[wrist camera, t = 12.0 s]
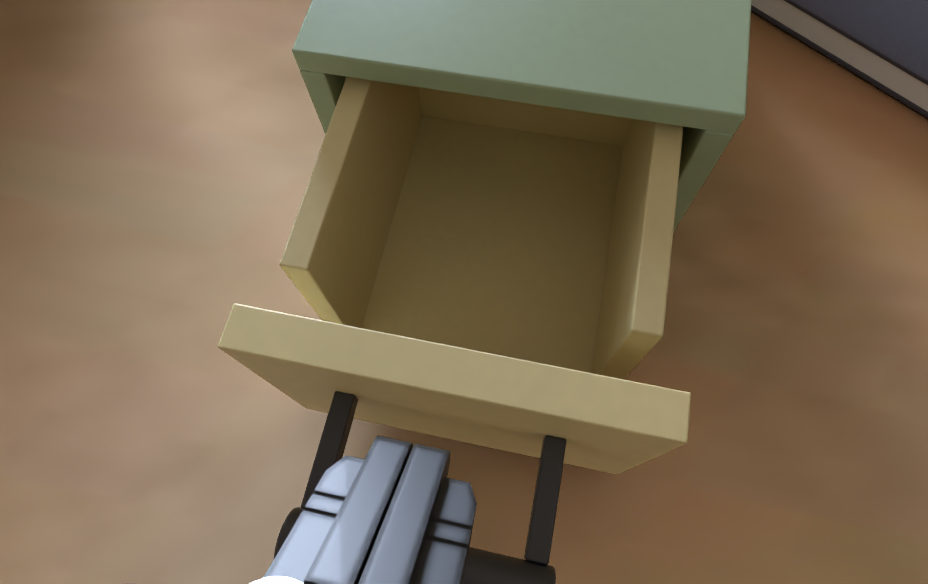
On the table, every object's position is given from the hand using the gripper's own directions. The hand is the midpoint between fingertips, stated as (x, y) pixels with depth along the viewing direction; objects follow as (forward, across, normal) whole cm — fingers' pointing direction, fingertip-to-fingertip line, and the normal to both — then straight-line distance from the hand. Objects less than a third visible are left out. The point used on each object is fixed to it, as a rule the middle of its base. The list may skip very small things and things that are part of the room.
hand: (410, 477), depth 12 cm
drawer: (+11, 0, +2) cm, 11 cm away
